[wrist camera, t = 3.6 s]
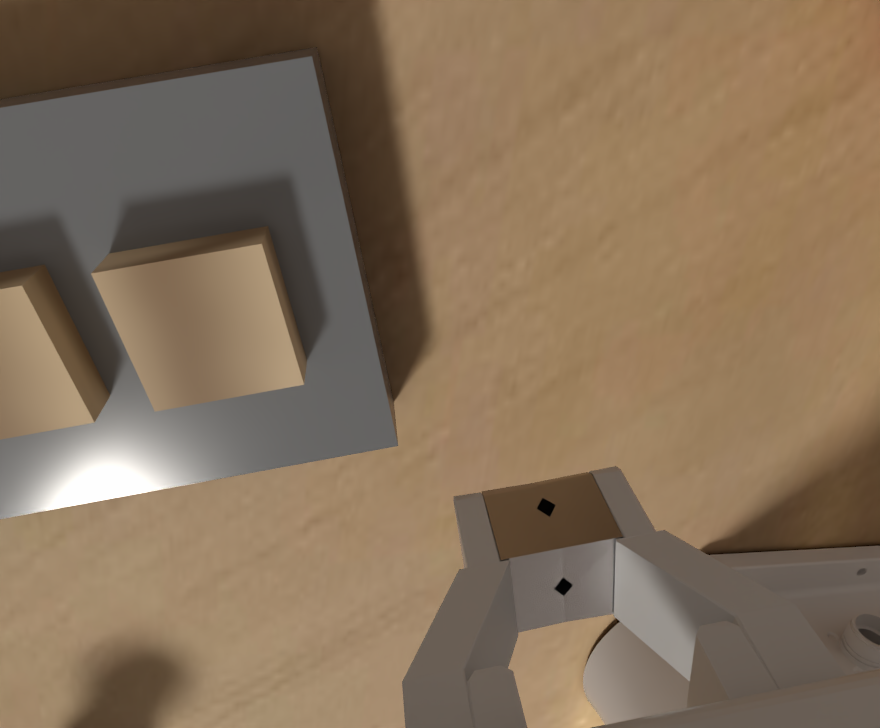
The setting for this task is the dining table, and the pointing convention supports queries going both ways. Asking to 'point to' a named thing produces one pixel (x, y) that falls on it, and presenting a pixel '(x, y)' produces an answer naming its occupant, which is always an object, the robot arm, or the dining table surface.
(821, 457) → the dining table surface
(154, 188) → the slate board
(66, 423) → the oak tile
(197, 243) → the oak tile
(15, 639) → the dining table surface
